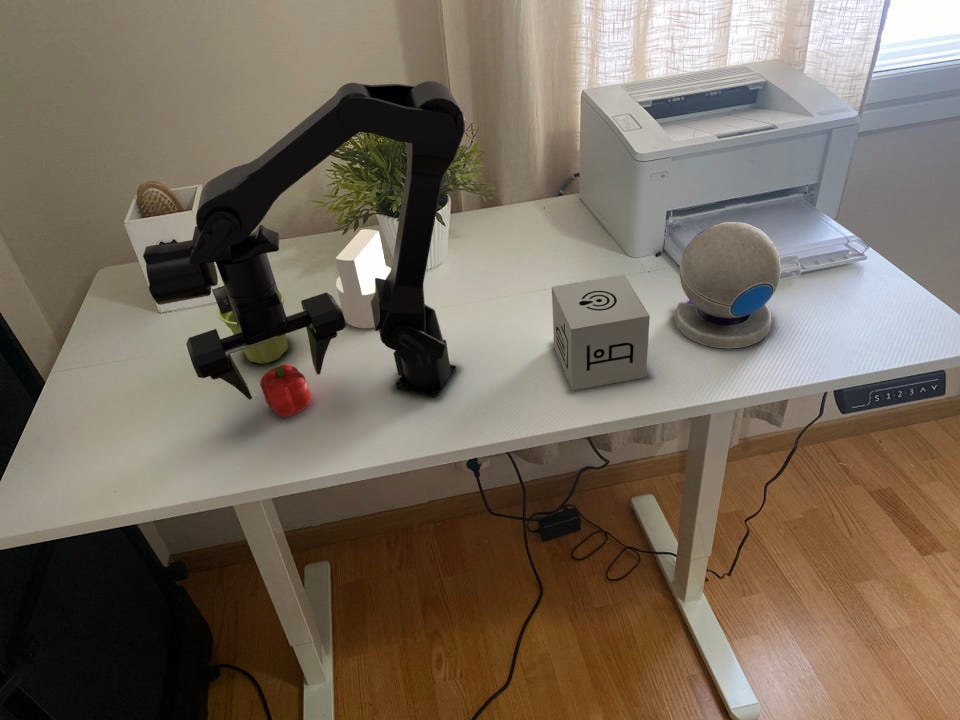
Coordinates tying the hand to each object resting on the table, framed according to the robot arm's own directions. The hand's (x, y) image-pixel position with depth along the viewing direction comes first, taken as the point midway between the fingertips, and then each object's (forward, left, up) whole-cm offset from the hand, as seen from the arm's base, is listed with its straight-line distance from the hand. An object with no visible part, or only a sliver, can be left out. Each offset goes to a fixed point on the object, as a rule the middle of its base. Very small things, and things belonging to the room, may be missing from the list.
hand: (284, 384), depth 97 cm
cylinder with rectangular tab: (+1, -23, -4) cm, 23 cm away
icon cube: (-36, -22, -4) cm, 42 cm away
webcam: (-50, -36, -4) cm, 62 cm away
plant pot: (+11, -9, -4) cm, 15 cm away
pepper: (0, 0, -4) cm, 4 cm away
